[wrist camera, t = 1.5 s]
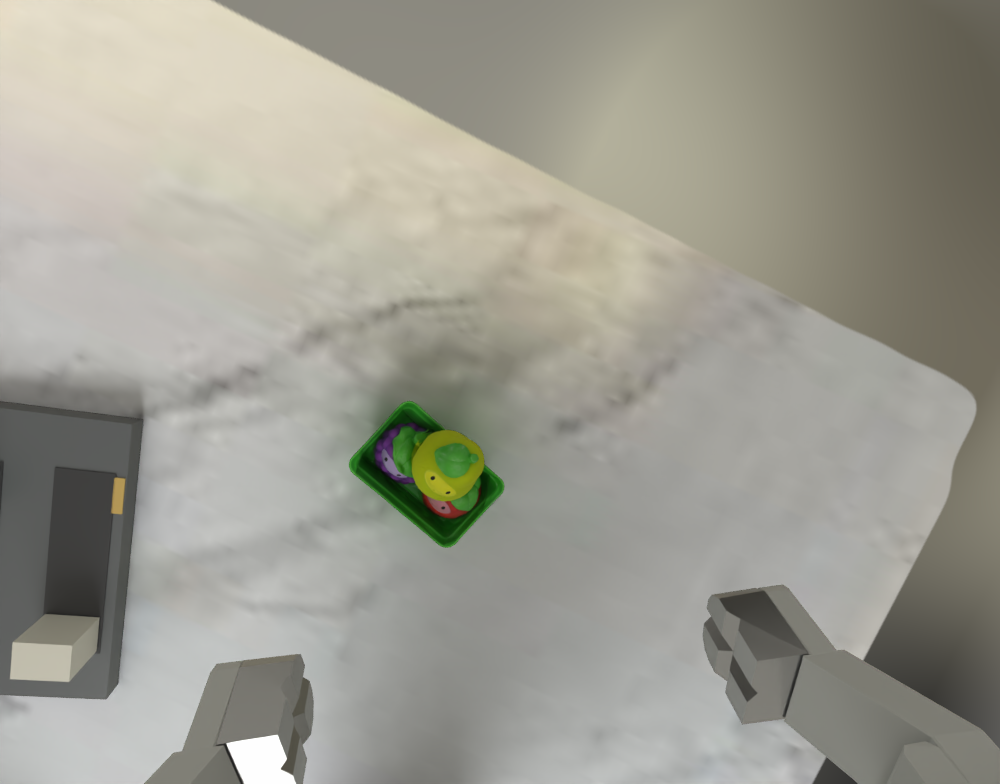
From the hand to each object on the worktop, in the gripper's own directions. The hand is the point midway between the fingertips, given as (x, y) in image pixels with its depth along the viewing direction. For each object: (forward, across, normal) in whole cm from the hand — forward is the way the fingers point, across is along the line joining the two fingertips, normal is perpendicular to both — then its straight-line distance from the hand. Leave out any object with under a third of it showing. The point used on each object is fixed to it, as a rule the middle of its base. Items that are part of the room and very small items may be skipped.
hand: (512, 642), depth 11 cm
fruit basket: (+37, -3, -19) cm, 42 cm away
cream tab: (+30, -33, -28) cm, 53 cm away
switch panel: (+34, -36, -22) cm, 54 cm away
